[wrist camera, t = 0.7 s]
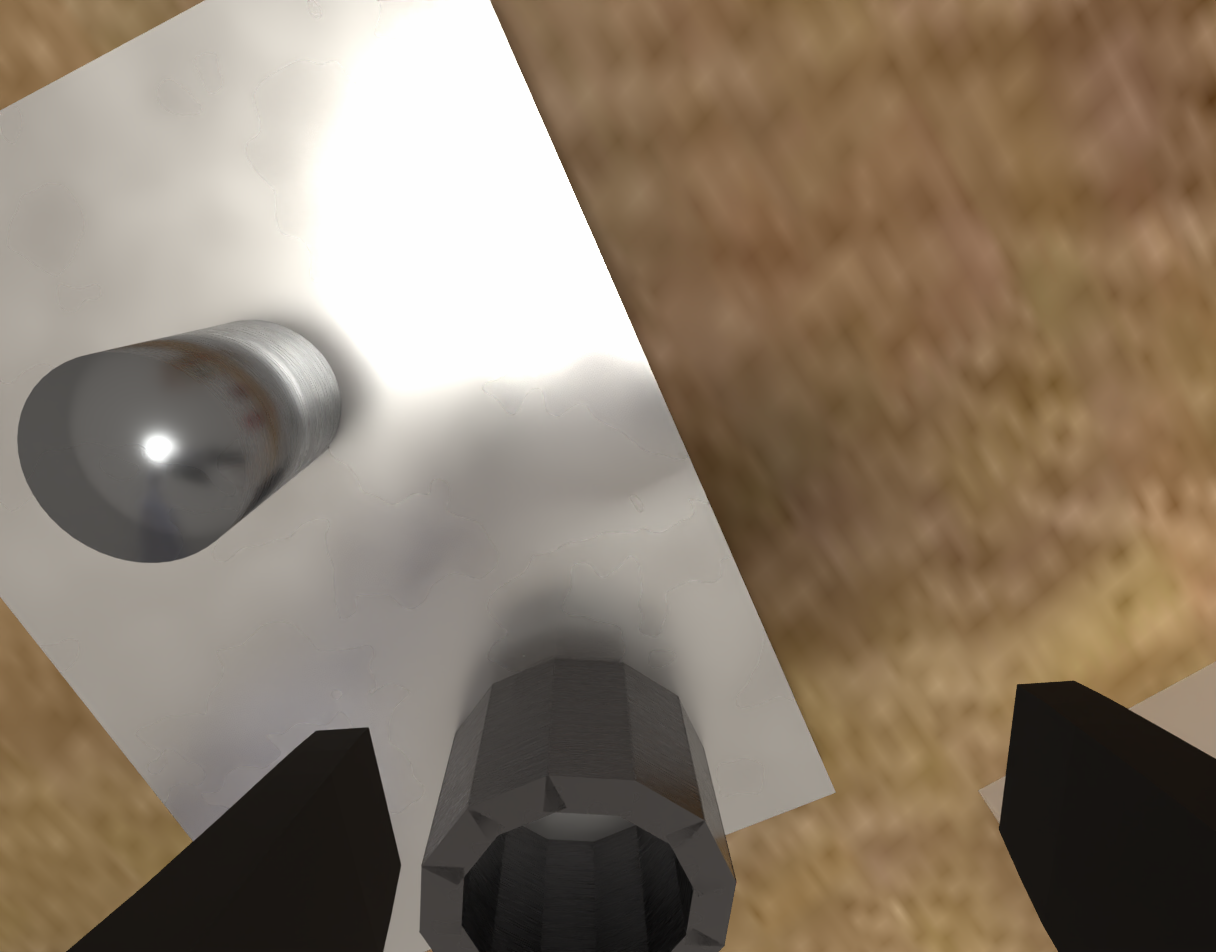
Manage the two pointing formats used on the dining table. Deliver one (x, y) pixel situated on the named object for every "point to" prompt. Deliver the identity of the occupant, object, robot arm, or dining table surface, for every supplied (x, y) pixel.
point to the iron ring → (584, 784)
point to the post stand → (343, 418)
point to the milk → (1162, 720)
